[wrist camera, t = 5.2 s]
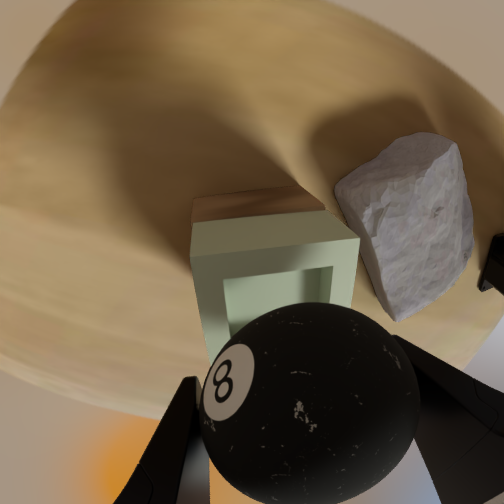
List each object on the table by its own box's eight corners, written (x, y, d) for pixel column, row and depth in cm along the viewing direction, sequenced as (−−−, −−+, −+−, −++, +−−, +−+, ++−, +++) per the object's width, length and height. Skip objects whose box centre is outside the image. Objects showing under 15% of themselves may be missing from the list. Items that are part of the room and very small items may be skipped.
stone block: (410, 116, 17) (314, 188, 16) (464, 120, 13) (369, 207, 12) (441, 237, 22) (370, 310, 22) (481, 255, 18) (409, 342, 18)
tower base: (299, 184, 16) (325, 205, 13) (300, 274, 19) (321, 310, 15) (193, 197, 16) (190, 222, 12) (209, 288, 18) (211, 329, 15)
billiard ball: (288, 403, 12) (323, 520, 6) (167, 358, 9) (161, 523, 4) (391, 314, 10) (476, 432, 5) (280, 226, 8) (397, 424, 2)
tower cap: (327, 210, 13) (360, 237, 10) (319, 314, 15) (340, 354, 13) (193, 222, 12) (189, 256, 9) (210, 330, 15) (213, 376, 12)
